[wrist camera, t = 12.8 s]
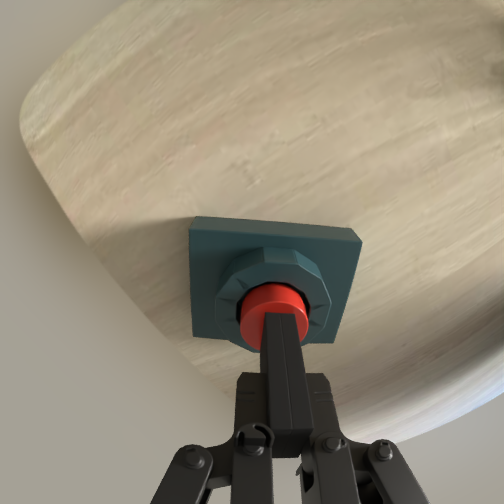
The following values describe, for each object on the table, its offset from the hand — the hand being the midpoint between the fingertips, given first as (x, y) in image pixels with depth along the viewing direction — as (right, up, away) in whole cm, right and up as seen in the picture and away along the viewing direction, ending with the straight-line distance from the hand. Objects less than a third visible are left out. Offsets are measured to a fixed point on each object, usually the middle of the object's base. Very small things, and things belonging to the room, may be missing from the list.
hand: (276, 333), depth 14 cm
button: (0, +1, +2) cm, 2 cm away
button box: (0, +2, +5) cm, 6 cm away
